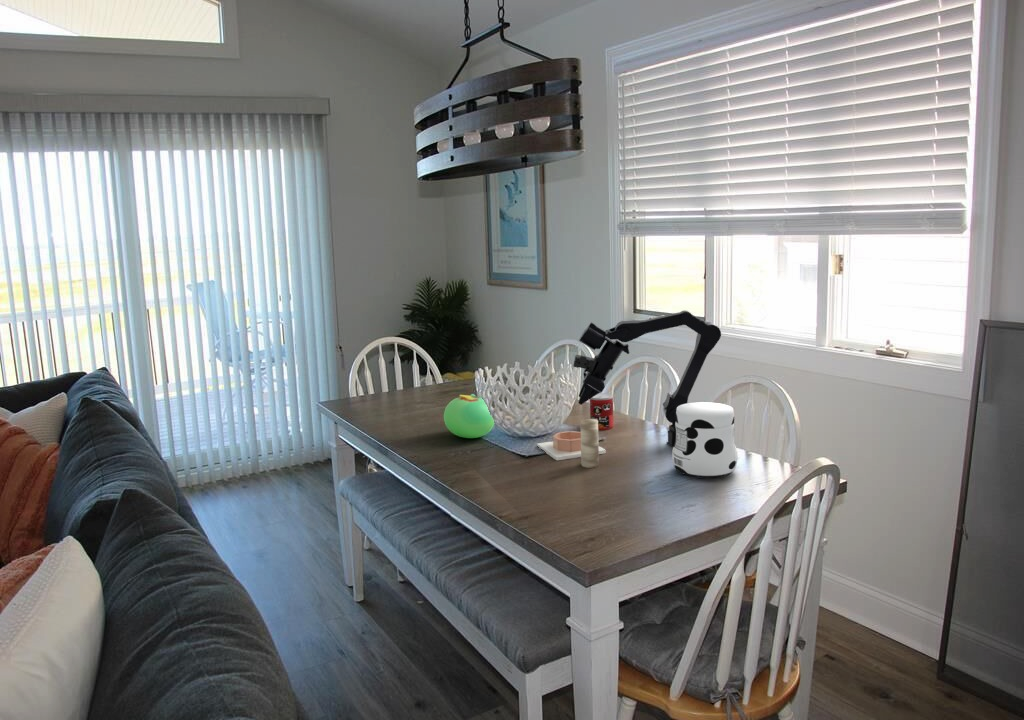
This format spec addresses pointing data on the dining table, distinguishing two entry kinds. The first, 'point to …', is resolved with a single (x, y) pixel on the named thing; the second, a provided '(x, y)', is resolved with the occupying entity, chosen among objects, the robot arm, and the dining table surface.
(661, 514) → the dining table surface
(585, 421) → the beech peg
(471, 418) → the toy bird
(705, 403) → the milk container
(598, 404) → the canned food
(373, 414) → the dining table surface
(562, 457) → the octagonal ring base
